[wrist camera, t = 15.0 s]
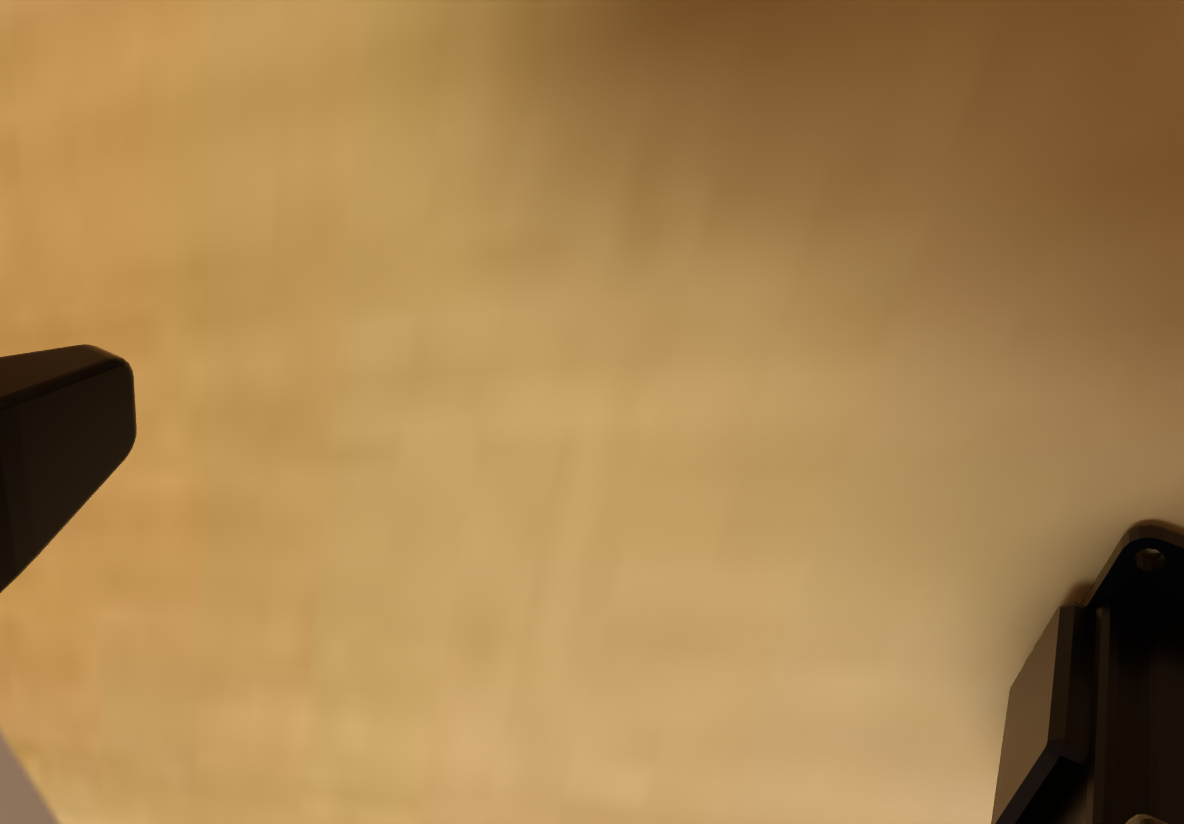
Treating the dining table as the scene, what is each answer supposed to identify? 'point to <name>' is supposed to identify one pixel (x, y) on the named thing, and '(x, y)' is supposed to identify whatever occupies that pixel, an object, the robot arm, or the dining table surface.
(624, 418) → the dining table surface
